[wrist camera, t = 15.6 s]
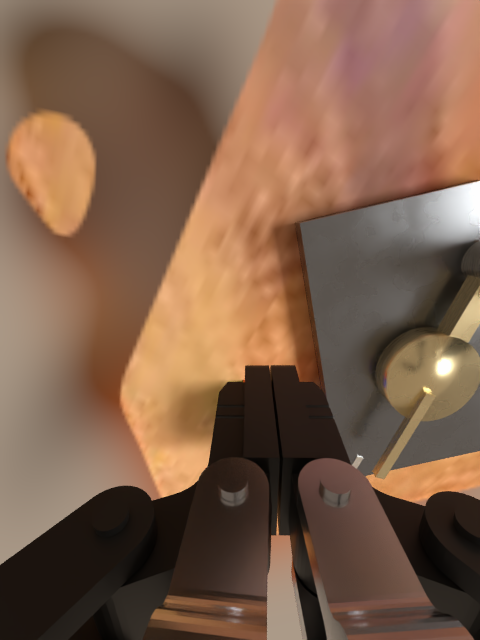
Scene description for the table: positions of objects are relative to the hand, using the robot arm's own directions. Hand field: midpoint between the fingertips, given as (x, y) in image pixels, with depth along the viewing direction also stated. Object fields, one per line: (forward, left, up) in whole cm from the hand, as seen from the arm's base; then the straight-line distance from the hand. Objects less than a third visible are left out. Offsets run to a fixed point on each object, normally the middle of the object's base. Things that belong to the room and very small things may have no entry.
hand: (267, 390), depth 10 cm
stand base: (+8, +12, -15) cm, 20 cm away
